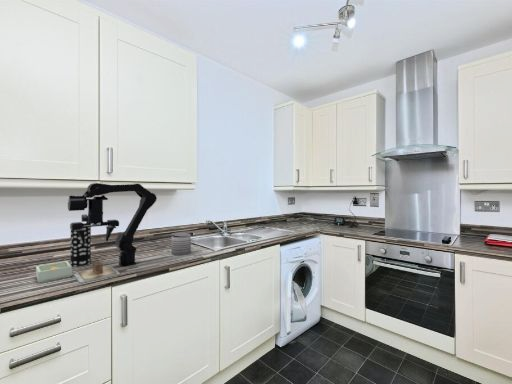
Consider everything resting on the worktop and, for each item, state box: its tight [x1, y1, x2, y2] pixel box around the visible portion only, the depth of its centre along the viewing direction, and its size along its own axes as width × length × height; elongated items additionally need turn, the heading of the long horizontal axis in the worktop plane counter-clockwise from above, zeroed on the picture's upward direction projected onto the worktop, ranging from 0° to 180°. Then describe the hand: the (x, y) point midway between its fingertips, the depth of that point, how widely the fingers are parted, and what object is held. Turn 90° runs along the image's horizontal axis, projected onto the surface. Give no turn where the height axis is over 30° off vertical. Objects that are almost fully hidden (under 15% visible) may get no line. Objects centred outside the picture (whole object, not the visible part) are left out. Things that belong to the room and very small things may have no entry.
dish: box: [35, 260, 73, 284], centre depth 107 cm, size 11×11×4 cm
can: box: [170, 232, 192, 257], centre depth 147 cm, size 11×11×12 cm
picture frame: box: [73, 266, 121, 284], centre depth 109 cm, size 15×13×1 cm
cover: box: [78, 260, 117, 281], centre depth 109 cm, size 12×12×5 cm
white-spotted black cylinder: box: [70, 227, 92, 267], centre depth 125 cm, size 8×8×20 cm
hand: (95, 242), depth 115 cm, fingers open, 9 cm apart
